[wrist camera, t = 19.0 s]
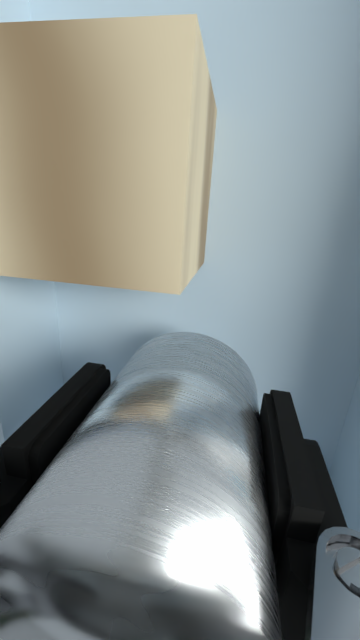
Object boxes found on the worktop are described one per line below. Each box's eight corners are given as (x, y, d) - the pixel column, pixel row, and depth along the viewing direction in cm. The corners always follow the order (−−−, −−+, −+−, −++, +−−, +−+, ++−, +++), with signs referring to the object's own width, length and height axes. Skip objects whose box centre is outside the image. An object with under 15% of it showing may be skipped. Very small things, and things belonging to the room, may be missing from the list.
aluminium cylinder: (123, 323, 10) (-68, 499, 4) (267, 341, 10) (326, 597, 3) (124, 436, 12) (-8, 688, 6) (247, 459, 11) (257, 782, 5)
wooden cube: (217, 110, 10) (196, 14, 5) (204, 262, 11) (180, 294, 7) (76, 109, 10) (-53, 25, 6) (84, 252, 12) (-11, 274, 8)
